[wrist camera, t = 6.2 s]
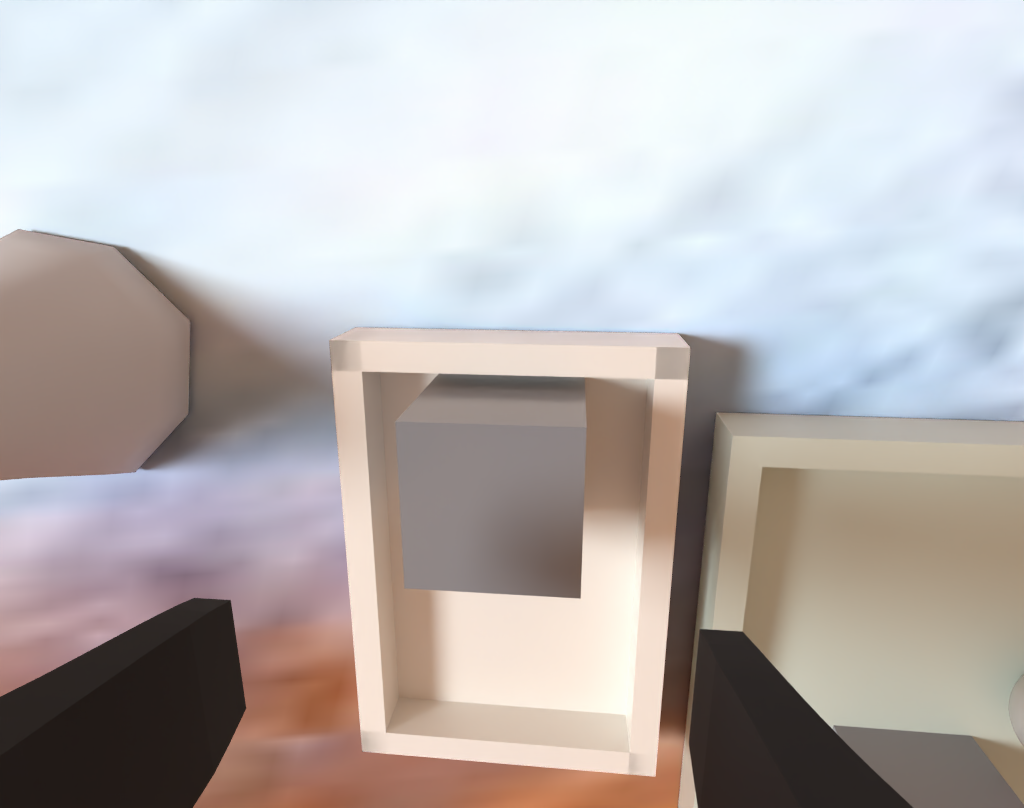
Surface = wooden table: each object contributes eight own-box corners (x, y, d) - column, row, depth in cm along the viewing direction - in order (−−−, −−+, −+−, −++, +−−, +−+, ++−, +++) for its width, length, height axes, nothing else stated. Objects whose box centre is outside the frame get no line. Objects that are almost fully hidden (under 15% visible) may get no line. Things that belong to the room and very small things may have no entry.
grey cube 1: (580, 509, 18) (580, 598, 14) (444, 503, 19) (404, 588, 14) (584, 375, 17) (586, 427, 13) (440, 372, 18) (395, 421, 13)
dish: (648, 725, 21) (655, 776, 19) (381, 704, 22) (362, 751, 20) (678, 333, 17) (690, 347, 15) (355, 327, 18) (328, 340, 16)
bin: (1065, 877, 21) (1114, 944, 19) (674, 840, 22) (684, 899, 20) (1213, 427, 16) (1296, 454, 15) (715, 412, 18) (732, 435, 16)
